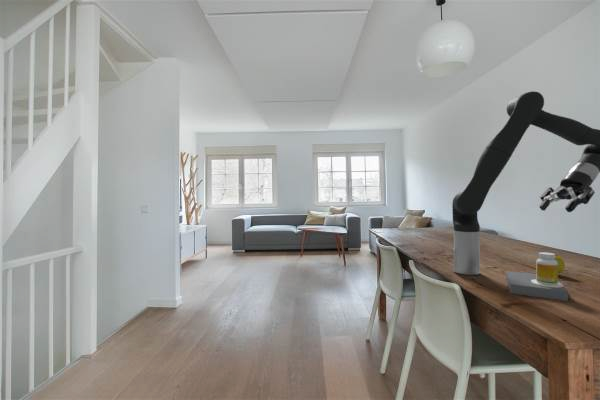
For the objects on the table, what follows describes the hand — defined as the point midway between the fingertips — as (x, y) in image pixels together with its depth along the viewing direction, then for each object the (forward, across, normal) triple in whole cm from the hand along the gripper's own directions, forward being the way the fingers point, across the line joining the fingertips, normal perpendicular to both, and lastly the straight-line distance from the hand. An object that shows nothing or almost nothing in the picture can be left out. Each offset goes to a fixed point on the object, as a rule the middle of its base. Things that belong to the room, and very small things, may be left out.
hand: (554, 209), depth 102 cm
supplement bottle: (+25, +7, +8) cm, 27 cm away
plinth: (+27, +3, +11) cm, 29 cm away
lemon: (+10, -8, +27) cm, 30 cm away
